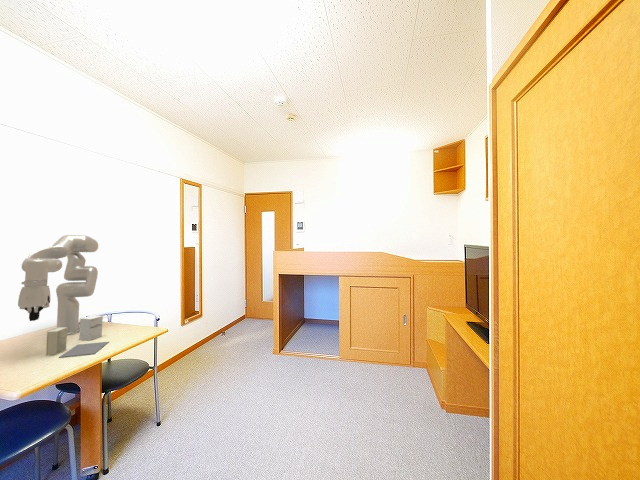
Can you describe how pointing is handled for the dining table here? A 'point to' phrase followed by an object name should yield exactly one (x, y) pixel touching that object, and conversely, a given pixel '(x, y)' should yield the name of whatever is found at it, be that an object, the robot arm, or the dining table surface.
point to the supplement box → (90, 327)
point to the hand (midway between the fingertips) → (34, 320)
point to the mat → (84, 349)
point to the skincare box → (56, 341)
